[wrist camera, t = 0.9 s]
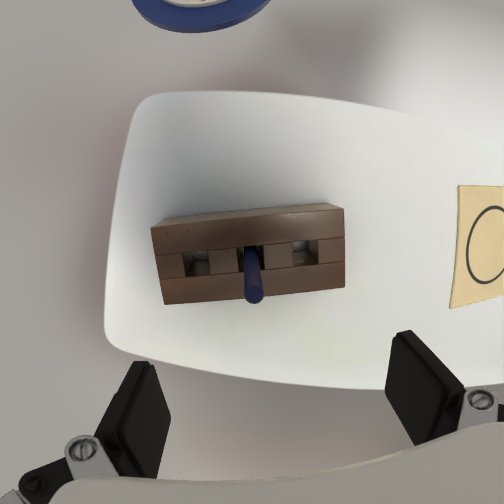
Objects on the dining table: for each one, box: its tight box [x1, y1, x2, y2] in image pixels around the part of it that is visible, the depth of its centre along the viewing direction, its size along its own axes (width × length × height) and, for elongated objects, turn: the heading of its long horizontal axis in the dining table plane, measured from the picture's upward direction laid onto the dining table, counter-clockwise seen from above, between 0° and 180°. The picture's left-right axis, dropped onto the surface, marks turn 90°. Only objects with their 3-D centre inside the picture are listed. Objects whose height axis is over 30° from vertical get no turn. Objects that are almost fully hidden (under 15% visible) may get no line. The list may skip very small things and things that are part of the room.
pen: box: [244, 245, 264, 304], centre depth 25 cm, size 1×1×13 cm
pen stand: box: [151, 203, 345, 305], centre depth 28 cm, size 7×17×5 cm, turn 95°
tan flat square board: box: [449, 186, 504, 309], centre depth 32 cm, size 16×14×1 cm
